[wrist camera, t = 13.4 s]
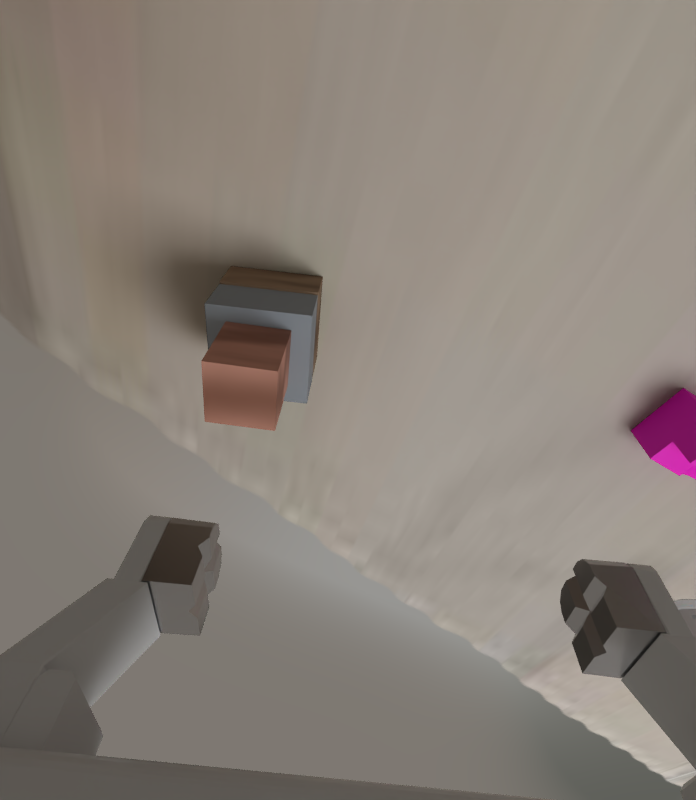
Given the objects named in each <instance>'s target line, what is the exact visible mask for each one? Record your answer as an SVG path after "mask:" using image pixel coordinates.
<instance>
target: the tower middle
mask: <svg viewBox="0 0 696 800" xmlns="http://www.w3.org/2000/svg"><path fill="white" fill-rule="evenodd" d="M317 300H318V295H313V294H304V293H295V292H286V291H278V290H269V289H260V288H252V287H243V286H234V285H225V284H219V285H218V286H217V288H216V289H215V290H214V292H213V293H212V294H211V296H210V297H209V298H208V300H207V301H206V302H205V315H206V328H207V341H208V350H209V348H210V346H211V345H212V343H213V341H214V340H215V338H216V336H217V335H218V333H219V331H220V330H221V328H222V326H223V325H224V323H225V321H227V322H234V323H241V324H248V325H256V326H263V327H270V328H277V329H285V330H291V345H290V360H289V375H288V386H287V390H286V393H285V397H284V400H283V401H289V402H298V403H307V400H308V396H309V391H310V386H311V382H312V374H313V360H314V345H315V330H316V315H317Z"/></svg>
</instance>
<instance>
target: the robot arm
mask: <svg viewBox="0 0 696 800" xmlns="http://www.w3.org/2000/svg"><path fill="white" fill-rule="evenodd" d="M219 534H220V531H219V524H217V523H210V522H202V521H195V520H186V519H178V518H170V517H161V516H152V515H150V516H149V517H148V518H147V519H146V520H145V521H144V523H143V524H142V526H141V528H140V530H139V532H138V534H137V536H136V538H135V540H134V542H133V543H132V545H131V547H130V549H129V551H128V553H127V555H126V557H125V559H124V561H123V562H122V564H121V566H120V568H119V570H118V572H117V574H116V576H115V578H114V579H108V578H107V579H105V580H104V581H103V582H101V583H100V584H98V585H97V586H96V587H94V588H93V589H92V590H90V591H89V592H87V593H86V594H85V595H83V596H82V597H81V598H79V599H78V600H76V601H75V602H73V603H72V604H71V605H69V606H68V607H66V608H65V609H64V610H62V611H61V612H60V613H58V614H57V615H56V616H54V617H53V618H51V619H50V620H48V621H47V622H46V623H44V624H43V625H42V626H40V627H39V628H37V629H36V630H35V631H33V632H32V633H30V634H29V635H28V636H26V637H25V638H23V639H22V640H21V641H19V642H18V643H16V644H15V645H14V646H12V647H11V648H10V649H8V650H7V651H5V652H4V653H2V654H1V655H0V800H552V799H541V798H531V797H520V796H510V795H500V794H489V793H478V792H468V791H459V790H448V789H437V788H427V787H417V786H407V785H406V786H405V785H396V784H386V783H375V782H365V781H354V780H344V779H334V778H324V777H313V776H302V775H292V774H281V773H272V772H261V771H250V770H240V769H230V768H219V767H209V766H199V765H187V764H178V763H167V762H157V761H146V760H136V759H126V758H115V757H105V756H96V753H97V751H98V748H99V745H100V743H101V741H102V738H103V734H102V731H101V729H100V727H99V725H98V723H97V721H96V719H95V717H94V715H93V713H92V711H91V708H90V707H91V706H92V705H93V704H94V703H95V702H96V701H97V700H98V699H99V697H100V696H102V695H103V694H104V693H105V691H107V690H108V688H109V687H110V686H111V685H112V684H113V683H114V682H115V681H116V680H117V679H118V678H119V677H120V676H121V675H122V674H123V673H124V672H125V671H126V670H127V669H128V668H129V667H130V666H131V665H132V664H133V663H134V662H135V661H136V660H137V659H138V658H139V657H140V656H141V655H142V654H143V653H144V652H145V651H146V650H147V649H148V648H149V647H150V646H151V645H152V644H153V642H155V641H156V640H157V639H158V637H159V636H160V633H170V634H183V635H198V636H199V635H200V634H201V631H202V628H203V625H204V622H205V619H206V616H207V612H208V609H209V600H208V594H209V593H210V592H211V591H213V590H214V589H215V587H216V584H217V580H218V577H219V572H220V567H221V557H222V556H221V555H222V552H221V546H220V545H219V544H218V543H217V540H218V537H219ZM573 570H574V573H575V576H574V577H572V578H570V579H569V580H567V581H566V582H565V584H564V586H563V588H562V590H561V598H560V604H561V611H562V615H563V618H564V621H565V623H566V624H567V625H568V626H569V627H570V628H571V630H572V631H573V632H574V633H575V636H574V639H573V641H572V644H573V647H574V650H575V653H576V656H577V659H578V662H579V665H580V667H581V670H582V673H584V674H592V675H600V676H607V677H615V678H623V679H622V680H621V681H622V682H623V683H624V684H625V685H626V687H627V688H628V689H629V690H630V691H631V693H632V694H633V695H634V696H635V697H636V699H637V700H638V701H639V702H640V703H641V705H642V706H643V707H644V708H645V709H646V711H647V712H648V713H649V714H650V715H651V717H652V718H653V719H654V720H655V721H656V723H657V724H658V725H659V726H660V727H661V729H662V730H663V731H664V732H665V733H666V735H667V736H668V737H669V738H670V739H671V741H672V742H673V743H674V744H675V745H676V747H677V748H678V749H679V750H680V751H681V752H682V754H683V755H684V756H685V757H686V758H687V760H688V761H689V762H690V763H691V764H692V766H693V767H694V768H695V769H696V637H695V636H693V635H692V633H691V631H690V629H689V628H688V626H687V624H686V622H685V621H684V619H683V617H682V615H681V613H680V612H679V610H678V608H677V606H676V605H675V603H674V601H673V599H672V598H671V596H670V594H669V592H668V591H667V589H666V587H665V585H664V583H663V582H662V580H661V578H660V576H659V575H658V573H657V571H656V570H655V569H654V568H653V567H651V566H647V565H637V564H625V563H622V562H610V561H599V560H587V559H582V560H580V561H578V562H577V563H576V565H575V566H574V568H573ZM680 793H681V795H682V798H683V800H696V776H694V777H693V778H692V779H690V780H689V781H688V782H686V783H685V784H684V785H683V786H682V789H681V790H680Z"/></svg>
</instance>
